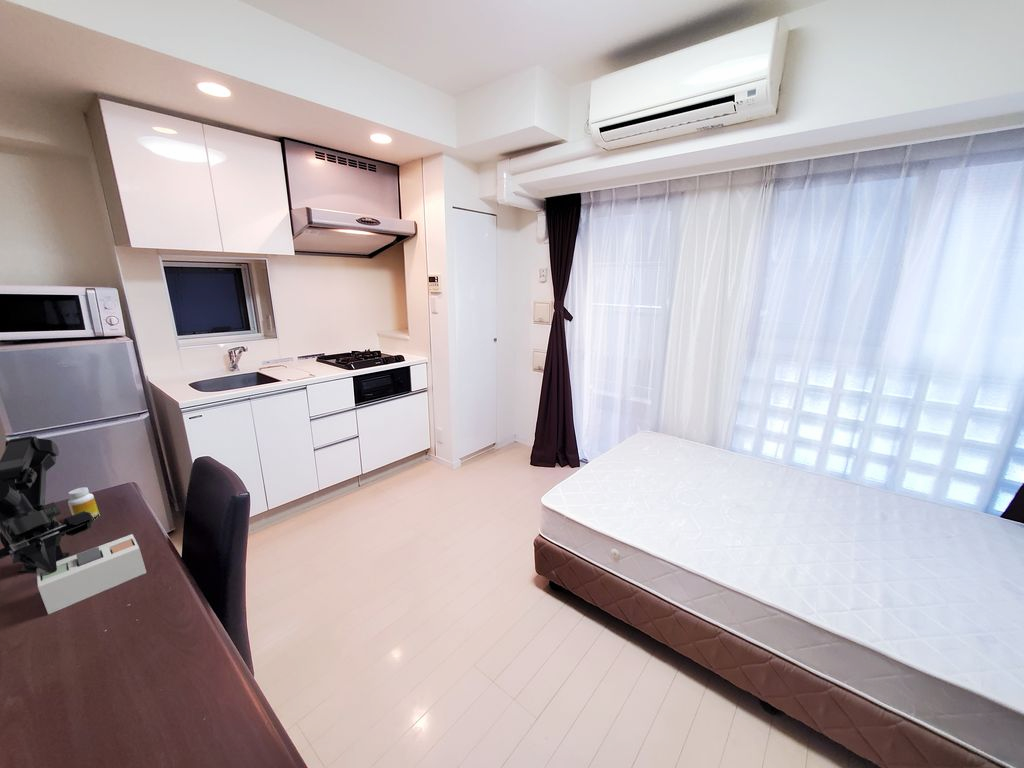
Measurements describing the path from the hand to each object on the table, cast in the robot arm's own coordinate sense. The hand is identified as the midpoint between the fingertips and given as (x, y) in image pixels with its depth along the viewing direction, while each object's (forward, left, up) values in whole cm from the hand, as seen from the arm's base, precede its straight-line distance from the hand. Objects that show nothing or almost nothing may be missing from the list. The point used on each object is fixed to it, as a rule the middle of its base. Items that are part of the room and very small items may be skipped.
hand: (54, 571), depth 88 cm
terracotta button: (+7, +8, -3) cm, 11 cm away
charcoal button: (+4, +4, -1) cm, 6 cm away
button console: (+4, +4, -7) cm, 9 cm away
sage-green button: (0, 0, -3) cm, 3 cm away
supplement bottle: (-26, +32, -7) cm, 42 cm away
